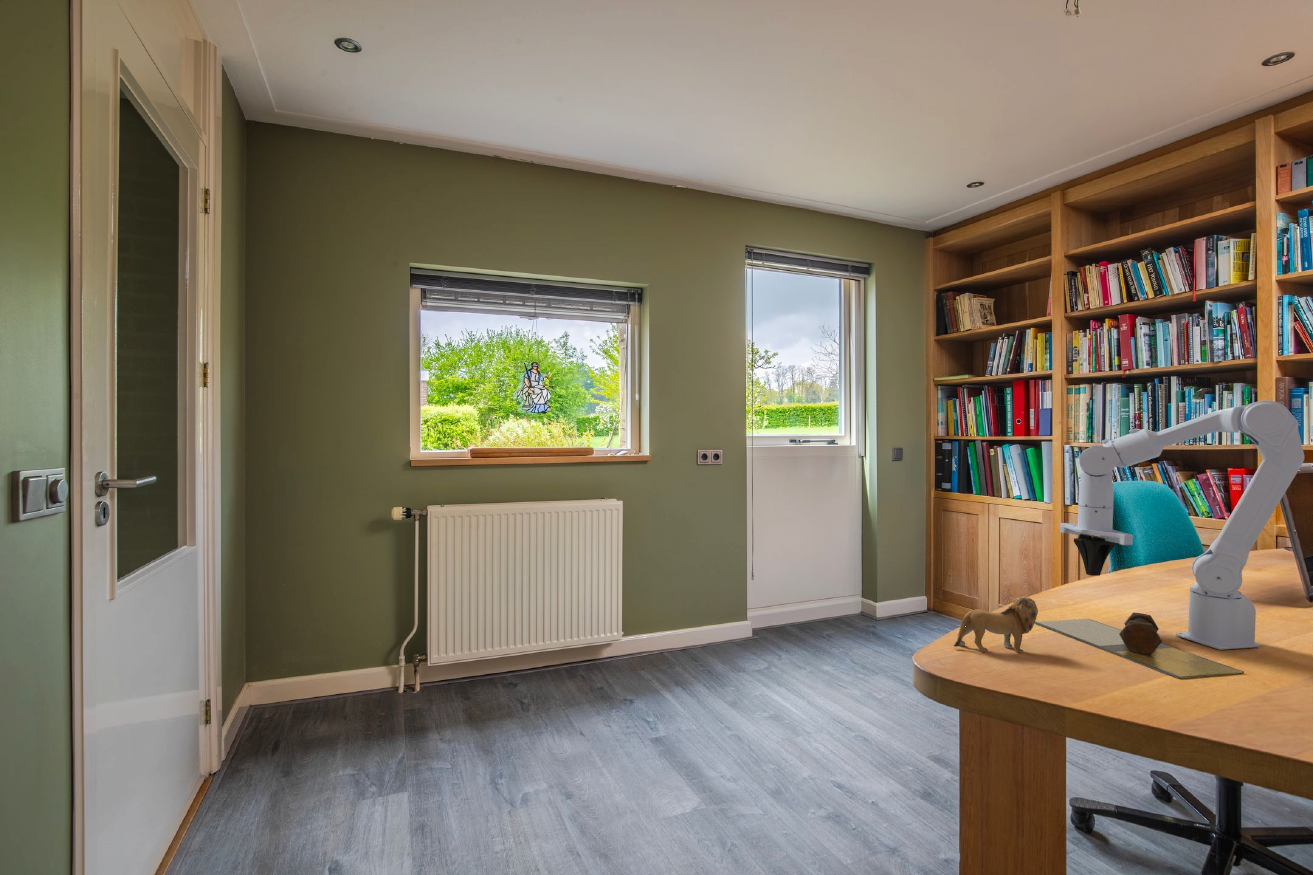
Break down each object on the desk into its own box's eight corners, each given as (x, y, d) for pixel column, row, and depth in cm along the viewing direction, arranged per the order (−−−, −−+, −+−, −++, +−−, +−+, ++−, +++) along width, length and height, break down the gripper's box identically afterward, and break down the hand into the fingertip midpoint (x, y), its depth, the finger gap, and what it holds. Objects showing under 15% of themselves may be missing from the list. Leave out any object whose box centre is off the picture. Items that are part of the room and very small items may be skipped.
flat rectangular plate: (1089, 620, 130) (1089, 618, 130) (1243, 673, 103) (1243, 671, 103) (1034, 623, 127) (1034, 621, 127) (1178, 678, 100) (1178, 676, 100)
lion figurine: (1024, 643, 115) (1025, 592, 115) (1045, 653, 110) (1046, 601, 110) (945, 644, 114) (947, 593, 114) (963, 655, 108) (964, 601, 108)
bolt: (1145, 642, 121) (1144, 661, 110) (1117, 624, 124) (1113, 641, 112) (1166, 618, 120) (1167, 635, 108) (1137, 600, 122) (1135, 615, 111)
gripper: (1048, 502, 135) (1046, 567, 135) (1112, 511, 121) (1109, 584, 121) (1077, 501, 136) (1074, 566, 137) (1143, 511, 122) (1140, 583, 122)
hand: (1093, 574), depth 129 cm, fingers closed
